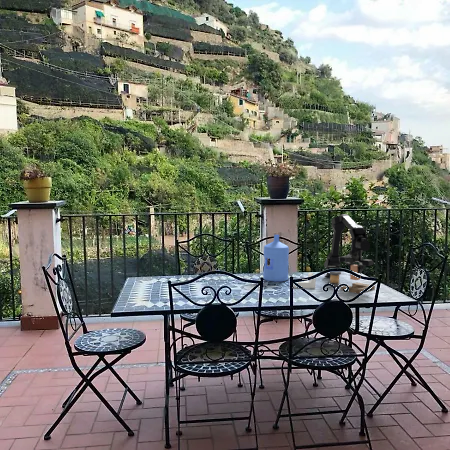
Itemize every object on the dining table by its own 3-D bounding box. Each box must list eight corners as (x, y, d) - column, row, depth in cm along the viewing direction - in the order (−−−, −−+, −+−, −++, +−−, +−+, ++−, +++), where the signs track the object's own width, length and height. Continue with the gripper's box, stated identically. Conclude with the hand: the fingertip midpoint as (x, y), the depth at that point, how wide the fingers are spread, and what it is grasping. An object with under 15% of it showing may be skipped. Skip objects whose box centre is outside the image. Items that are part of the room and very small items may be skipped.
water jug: (285, 276, 278) (286, 233, 275) (290, 282, 262) (291, 236, 260) (261, 276, 277) (262, 233, 274) (265, 282, 261) (266, 236, 259)
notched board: (340, 289, 243) (340, 286, 243) (356, 285, 254) (356, 282, 254) (358, 293, 235) (358, 290, 234) (374, 289, 246) (374, 285, 246)
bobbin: (326, 284, 255) (326, 271, 254) (332, 283, 260) (333, 270, 259) (336, 287, 250) (336, 273, 249) (342, 285, 255) (343, 272, 254)
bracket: (312, 285, 254) (312, 273, 254) (315, 288, 247) (315, 275, 246) (290, 285, 254) (290, 272, 253) (292, 288, 247) (293, 275, 246)
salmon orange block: (350, 279, 246) (350, 265, 245) (353, 278, 248) (354, 264, 248) (356, 280, 243) (357, 266, 242) (360, 279, 245) (360, 265, 245)
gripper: (334, 248, 245) (333, 274, 247) (363, 251, 232) (362, 280, 233) (345, 246, 253) (344, 272, 254) (374, 250, 239) (373, 277, 240)
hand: (355, 275), depth 245 cm, fingers closed on salmon orange block, 4 cm apart
